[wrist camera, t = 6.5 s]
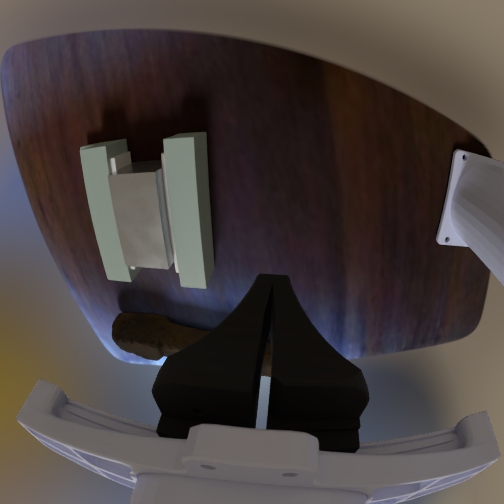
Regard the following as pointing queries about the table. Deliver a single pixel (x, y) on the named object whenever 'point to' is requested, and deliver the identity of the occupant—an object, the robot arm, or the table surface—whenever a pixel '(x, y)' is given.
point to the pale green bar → (106, 203)
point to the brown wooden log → (161, 337)
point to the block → (142, 214)
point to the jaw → (189, 207)
